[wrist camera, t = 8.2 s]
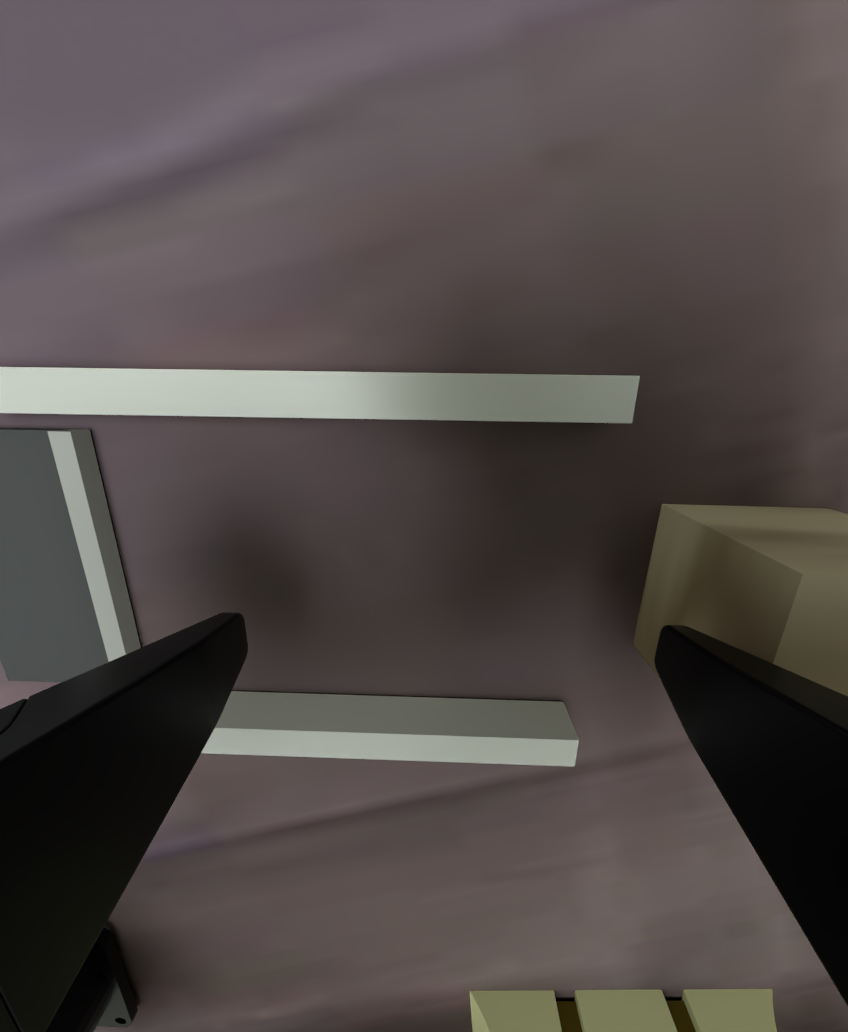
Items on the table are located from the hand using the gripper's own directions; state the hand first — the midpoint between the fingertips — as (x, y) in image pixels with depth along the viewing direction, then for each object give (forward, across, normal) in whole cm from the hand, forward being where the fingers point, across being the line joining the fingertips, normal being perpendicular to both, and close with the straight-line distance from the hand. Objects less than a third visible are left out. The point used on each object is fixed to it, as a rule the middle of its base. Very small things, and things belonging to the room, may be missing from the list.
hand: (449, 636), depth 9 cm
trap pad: (+3, +12, 0) cm, 12 cm away
